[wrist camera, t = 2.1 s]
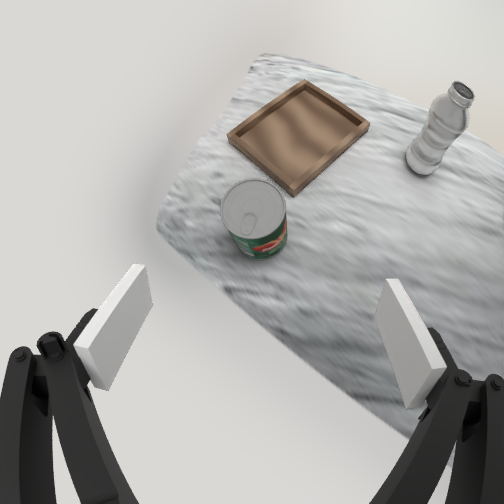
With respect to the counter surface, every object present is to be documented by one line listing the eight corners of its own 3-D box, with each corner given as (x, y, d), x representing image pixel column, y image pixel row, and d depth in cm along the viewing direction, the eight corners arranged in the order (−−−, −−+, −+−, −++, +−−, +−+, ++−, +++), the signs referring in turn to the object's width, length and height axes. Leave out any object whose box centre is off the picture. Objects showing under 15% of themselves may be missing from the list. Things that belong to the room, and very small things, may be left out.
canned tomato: (243, 207, 47) (230, 173, 36) (292, 216, 45) (292, 183, 35) (230, 254, 45) (211, 231, 35) (280, 265, 44) (277, 245, 33)
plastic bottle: (395, 158, 46) (434, 80, 27) (417, 143, 46) (456, 69, 27) (419, 185, 44) (471, 114, 25) (440, 168, 44) (489, 101, 25)
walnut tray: (304, 87, 52) (304, 79, 50) (367, 131, 48) (370, 122, 45) (229, 142, 50) (226, 134, 48) (293, 197, 46) (293, 190, 44)
